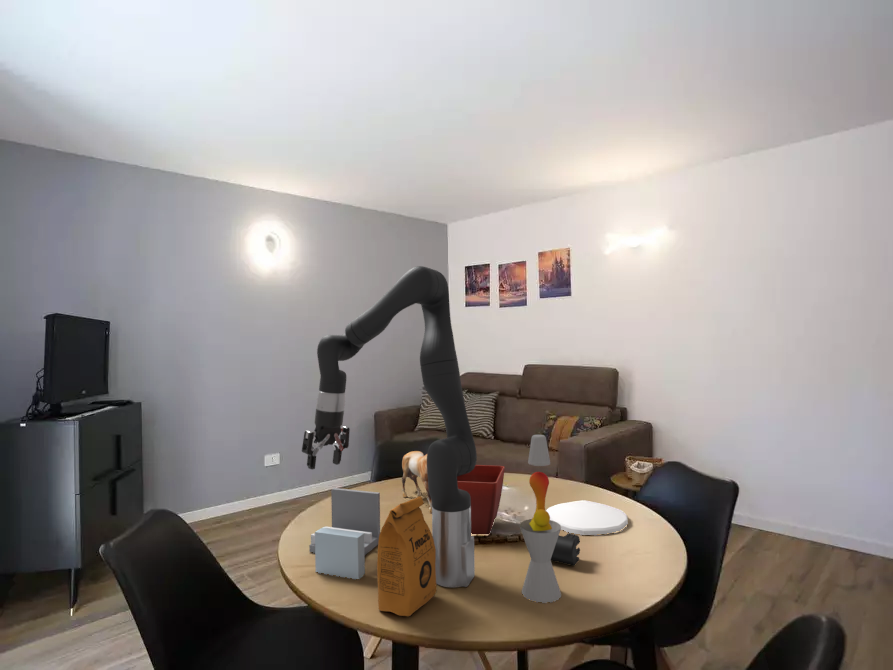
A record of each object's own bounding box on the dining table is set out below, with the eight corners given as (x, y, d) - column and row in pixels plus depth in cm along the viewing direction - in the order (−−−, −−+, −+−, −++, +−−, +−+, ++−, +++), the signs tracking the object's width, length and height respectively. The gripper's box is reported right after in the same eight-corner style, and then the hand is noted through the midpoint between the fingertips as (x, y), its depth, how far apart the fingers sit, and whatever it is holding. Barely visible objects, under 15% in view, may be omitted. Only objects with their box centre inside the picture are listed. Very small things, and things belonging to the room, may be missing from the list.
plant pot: (430, 538, 148) (429, 479, 148) (446, 515, 166) (445, 463, 166) (497, 543, 143) (496, 482, 143) (506, 520, 162) (505, 465, 162)
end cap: (534, 562, 132) (533, 535, 132) (544, 552, 138) (544, 526, 138) (572, 571, 126) (572, 543, 126) (581, 560, 132) (581, 533, 132)
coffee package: (443, 598, 114) (442, 497, 114) (408, 624, 103) (406, 514, 104) (408, 586, 119) (407, 490, 119) (371, 610, 109) (369, 505, 109)
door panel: (364, 574, 126) (364, 533, 126) (358, 580, 123) (357, 537, 123) (322, 567, 130) (322, 527, 130) (315, 572, 127) (314, 531, 127)
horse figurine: (452, 514, 168) (451, 450, 168) (430, 518, 164) (429, 453, 164) (412, 489, 195) (411, 435, 195) (393, 493, 192) (392, 437, 192)
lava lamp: (517, 584, 120) (514, 432, 120) (555, 582, 120) (553, 431, 120) (525, 604, 110) (523, 440, 111) (567, 602, 111) (564, 438, 111)
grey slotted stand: (380, 542, 145) (379, 492, 145) (358, 560, 134) (357, 505, 134) (334, 536, 150) (333, 487, 150) (309, 552, 139) (308, 500, 139)
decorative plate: (589, 528, 143) (528, 505, 164) (590, 543, 143) (528, 518, 164) (646, 511, 157) (583, 491, 178) (646, 525, 157) (583, 503, 178)
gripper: (318, 412, 134) (311, 474, 134) (359, 408, 145) (352, 465, 146) (300, 406, 138) (293, 466, 139) (341, 403, 150) (335, 459, 150)
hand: (324, 466), depth 142 cm, fingers open, 8 cm apart
